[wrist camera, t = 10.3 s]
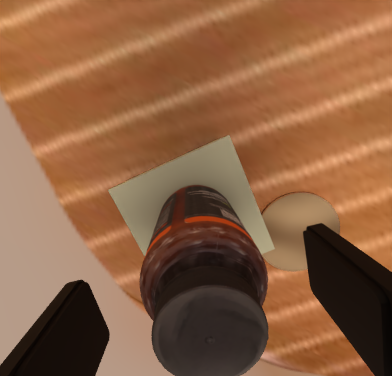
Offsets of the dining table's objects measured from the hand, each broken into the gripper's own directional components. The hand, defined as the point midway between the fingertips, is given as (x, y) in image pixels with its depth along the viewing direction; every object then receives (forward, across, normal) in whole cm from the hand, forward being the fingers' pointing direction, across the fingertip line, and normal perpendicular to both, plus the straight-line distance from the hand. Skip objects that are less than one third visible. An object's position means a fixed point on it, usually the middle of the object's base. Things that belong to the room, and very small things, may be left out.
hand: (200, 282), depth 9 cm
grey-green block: (+14, 0, +1) cm, 14 cm away
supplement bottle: (+9, 0, +1) cm, 9 cm away
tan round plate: (+14, -10, +7) cm, 18 cm away
